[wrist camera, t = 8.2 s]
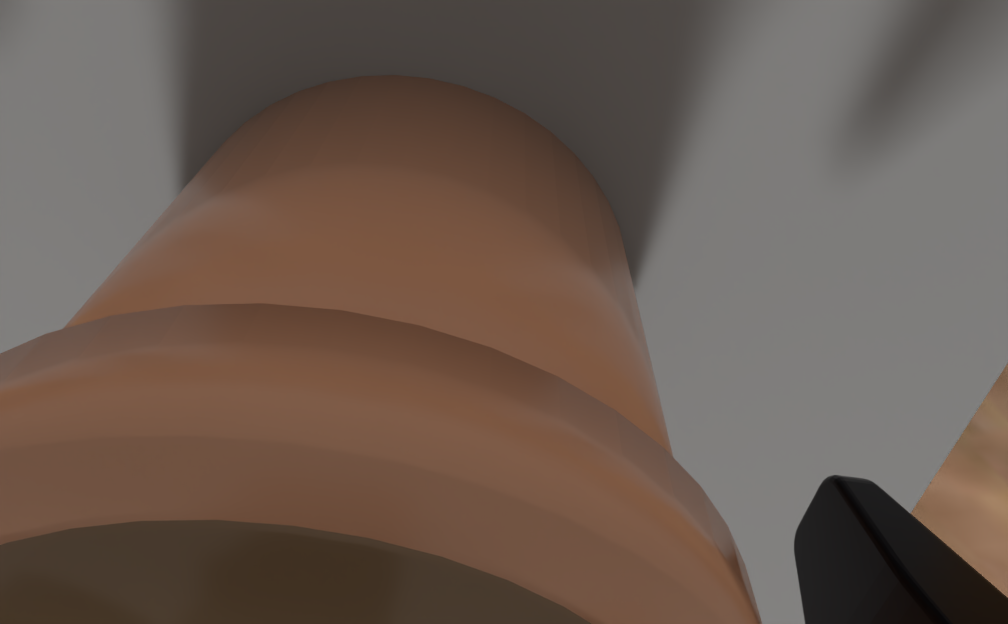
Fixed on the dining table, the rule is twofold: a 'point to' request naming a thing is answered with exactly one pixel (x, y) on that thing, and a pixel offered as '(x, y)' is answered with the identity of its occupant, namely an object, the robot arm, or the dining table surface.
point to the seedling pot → (360, 395)
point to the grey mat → (610, 195)
